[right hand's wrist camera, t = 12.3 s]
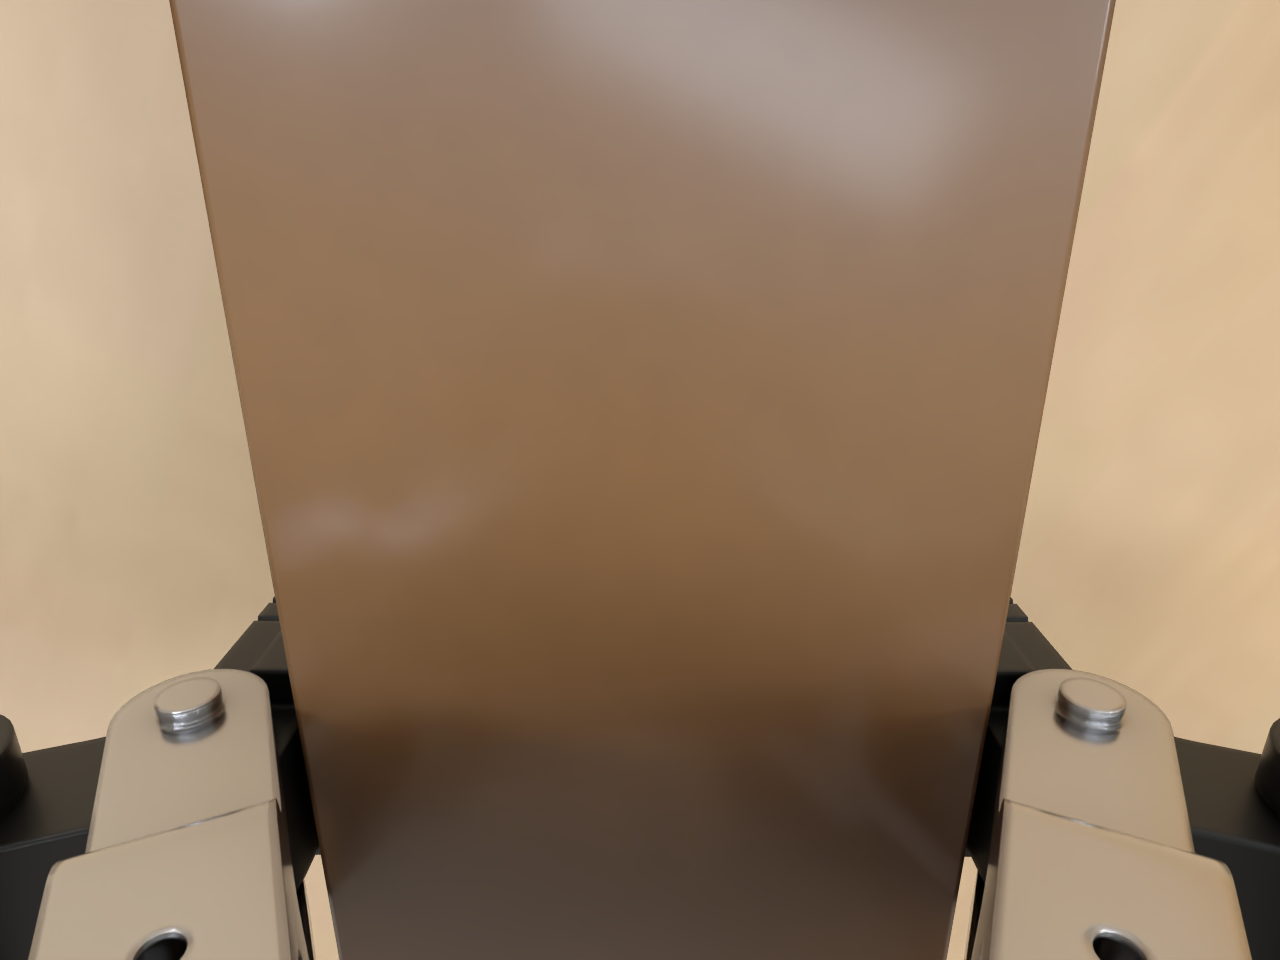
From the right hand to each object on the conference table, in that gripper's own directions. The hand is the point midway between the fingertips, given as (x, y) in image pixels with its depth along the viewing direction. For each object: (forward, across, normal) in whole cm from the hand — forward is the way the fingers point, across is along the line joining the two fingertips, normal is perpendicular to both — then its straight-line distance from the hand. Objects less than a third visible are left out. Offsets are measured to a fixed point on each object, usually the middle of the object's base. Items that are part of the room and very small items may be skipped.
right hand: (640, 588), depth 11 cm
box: (+7, 0, -7) cm, 10 cm away
